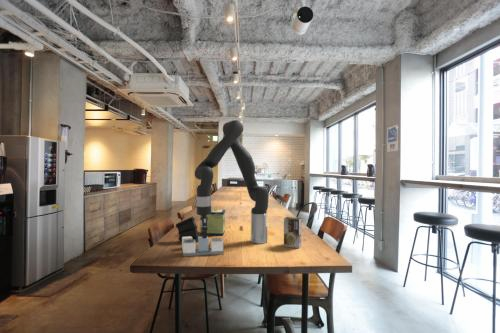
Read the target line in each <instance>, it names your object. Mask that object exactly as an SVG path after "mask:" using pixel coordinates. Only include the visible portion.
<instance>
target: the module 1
mask: <svg viewBox="0 0 500 333" xmlns="http://www.w3.org/2000/svg"><path fill="white" fill-rule="evenodd" d="M191 239H193V238H192V237H191V236H188V237H182V242H181V249H182V250H183V240H191Z"/></svg>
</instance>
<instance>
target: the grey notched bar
mask: <svg viewBox="0 0 500 333" xmlns="http://www.w3.org/2000/svg"><path fill="white" fill-rule="evenodd" d="M209 242H210V243H209V244H210V245H209V246H210V247H208V251H205V252H198V248H196V246H197V245H196V244H197V243H196V242H195V239H191V240H183V249H182V257H183V258H184V257H185V258H186V257H201V256H216V255H217V256H218V255H224V240H223V237H218V238H217V237H214V238H210V241H209Z"/></svg>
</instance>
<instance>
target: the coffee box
mask: <svg viewBox="0 0 500 333" xmlns="http://www.w3.org/2000/svg"><path fill="white" fill-rule="evenodd" d="M302 228H303V227H302V217H296V216H295V217H294V216H286V217H284V218H283V247H286V248H294V249H300V248H301V247H302Z"/></svg>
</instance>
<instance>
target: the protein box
mask: <svg viewBox="0 0 500 333" xmlns="http://www.w3.org/2000/svg"><path fill="white" fill-rule="evenodd" d="M199 216H200V217H201V215H199ZM200 217H199V218H200ZM207 217H208V227H207V229H208V230H207V236H223V237H224V234H225V233H226V230H225V228H226V209H211V214H209V215H207ZM199 227H200V228H199V236H202V234H201V224H200V223H199Z"/></svg>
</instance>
